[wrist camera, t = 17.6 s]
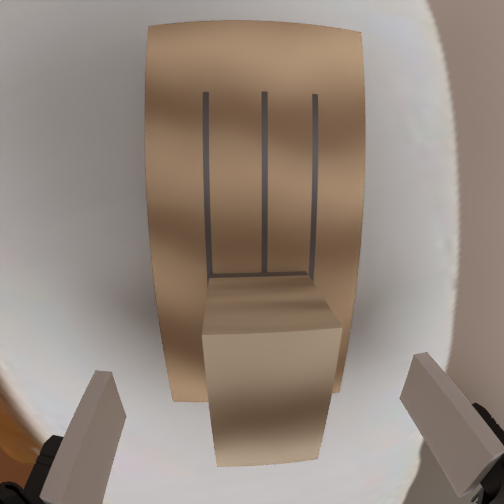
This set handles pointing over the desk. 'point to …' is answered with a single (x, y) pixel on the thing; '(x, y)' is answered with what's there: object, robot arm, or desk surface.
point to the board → (251, 169)
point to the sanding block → (268, 366)
